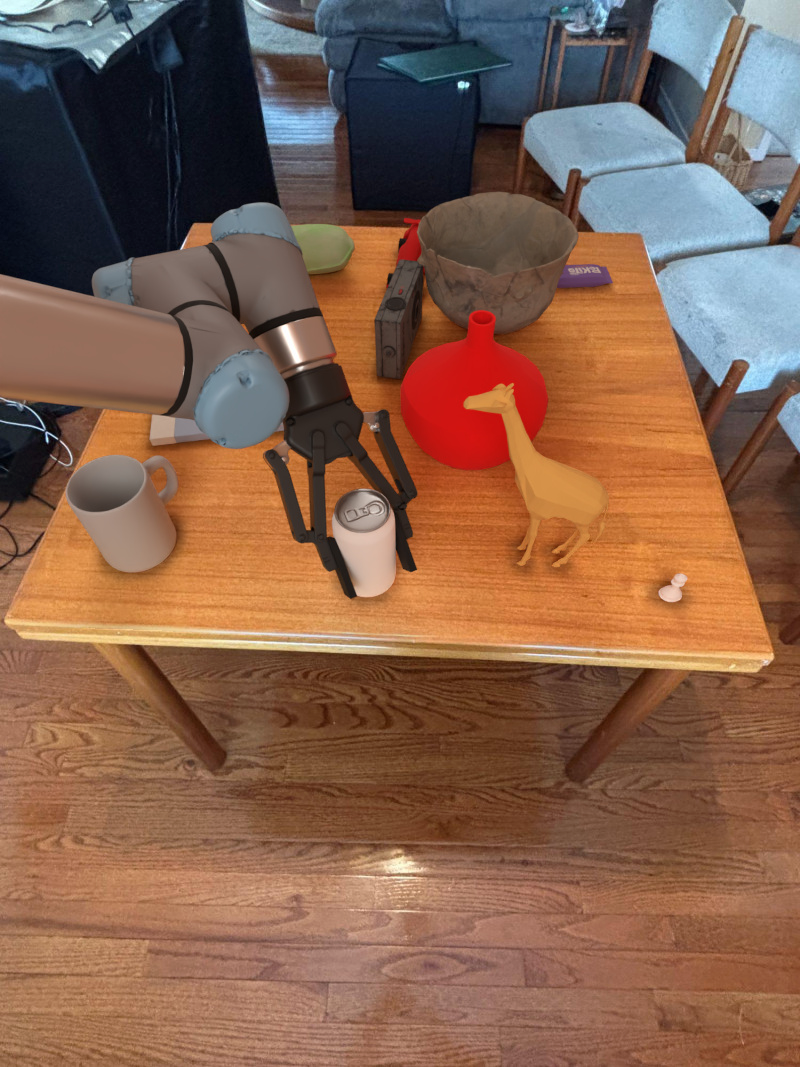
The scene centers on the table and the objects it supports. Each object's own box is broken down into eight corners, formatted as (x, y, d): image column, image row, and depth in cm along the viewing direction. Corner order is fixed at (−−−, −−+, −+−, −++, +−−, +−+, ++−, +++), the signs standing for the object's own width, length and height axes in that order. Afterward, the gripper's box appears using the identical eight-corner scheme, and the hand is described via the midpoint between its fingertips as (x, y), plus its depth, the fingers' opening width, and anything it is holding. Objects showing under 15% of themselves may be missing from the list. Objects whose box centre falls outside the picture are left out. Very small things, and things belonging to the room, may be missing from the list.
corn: (352, 261, 102) (229, 264, 103) (357, 283, 111) (243, 285, 111) (352, 211, 103) (229, 214, 103) (356, 236, 111) (243, 239, 111)
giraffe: (448, 564, 74) (463, 399, 53) (450, 533, 76) (467, 366, 56) (591, 578, 72) (663, 415, 52) (589, 547, 75) (657, 380, 55)
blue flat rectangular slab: (152, 446, 85) (149, 439, 84) (160, 368, 95) (157, 361, 94) (301, 429, 87) (300, 422, 86) (294, 355, 96) (293, 348, 95)
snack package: (607, 261, 108) (615, 278, 105) (604, 271, 109) (612, 288, 106) (540, 263, 107) (545, 280, 104) (538, 273, 109) (543, 291, 106)
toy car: (384, 301, 104) (383, 273, 100) (402, 244, 115) (402, 216, 111) (419, 304, 104) (420, 276, 100) (434, 247, 114) (435, 219, 110)
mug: (139, 585, 72) (102, 527, 63) (88, 552, 75) (46, 492, 66) (212, 515, 78) (187, 453, 69) (162, 487, 81) (132, 424, 72)
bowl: (390, 314, 102) (389, 222, 90) (486, 265, 111) (496, 175, 98) (488, 383, 92) (501, 290, 80) (585, 323, 101) (610, 231, 89)
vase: (372, 451, 84) (365, 328, 69) (450, 378, 93) (459, 254, 78) (489, 516, 78) (510, 396, 62) (561, 431, 86) (596, 308, 71)
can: (404, 589, 72) (404, 525, 62) (349, 606, 70) (340, 543, 61) (385, 545, 75) (382, 478, 66) (332, 561, 74) (322, 494, 64)
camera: (400, 385, 92) (400, 326, 84) (374, 381, 93) (371, 322, 85) (423, 318, 102) (424, 260, 94) (399, 315, 102) (398, 256, 94)
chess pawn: (678, 587, 72) (691, 567, 68) (683, 602, 70) (697, 583, 67) (655, 587, 72) (667, 568, 68) (660, 603, 70) (672, 584, 67)
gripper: (379, 350, 70) (445, 544, 74) (208, 407, 64) (290, 611, 69) (401, 336, 63) (473, 551, 67) (211, 398, 57) (303, 627, 62)
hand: (380, 581), depth 68 cm, fingers closed on can, 6 cm apart
